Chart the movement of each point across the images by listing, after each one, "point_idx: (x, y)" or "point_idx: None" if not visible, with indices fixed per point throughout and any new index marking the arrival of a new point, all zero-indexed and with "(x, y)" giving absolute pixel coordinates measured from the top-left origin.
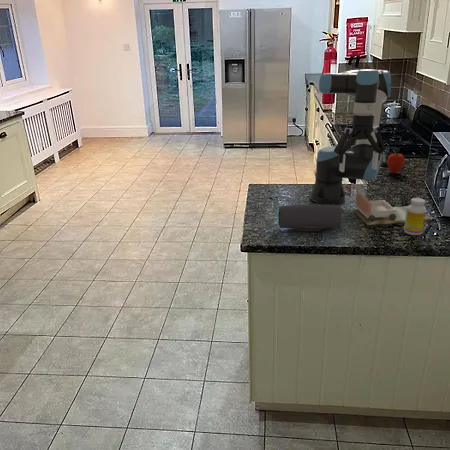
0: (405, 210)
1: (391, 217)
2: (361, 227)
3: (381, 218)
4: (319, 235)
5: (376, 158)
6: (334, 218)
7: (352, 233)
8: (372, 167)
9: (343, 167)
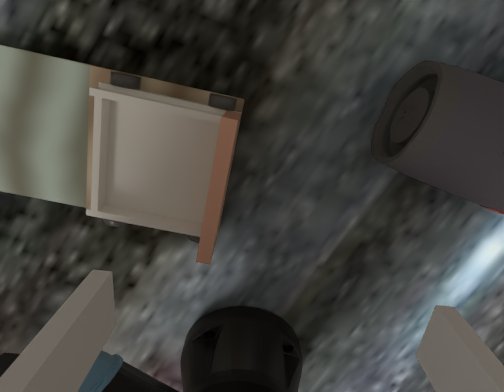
0: (23, 154)
1: (135, 76)
2: (281, 86)
3: None
4: None
5: (31, 375)
6: (468, 70)
7: (353, 44)
8: (110, 319)
9: (477, 343)
